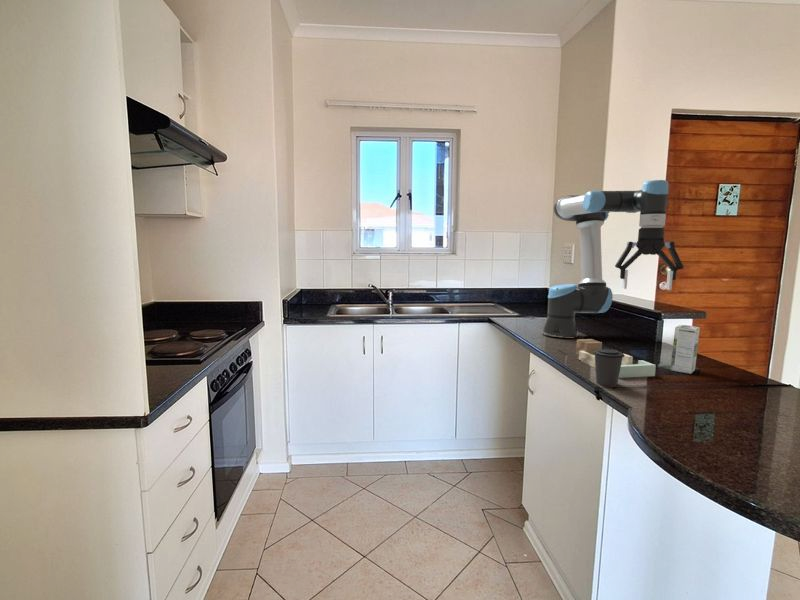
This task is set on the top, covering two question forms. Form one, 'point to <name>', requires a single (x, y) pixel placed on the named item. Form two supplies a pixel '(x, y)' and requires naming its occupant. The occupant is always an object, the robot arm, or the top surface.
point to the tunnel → (590, 359)
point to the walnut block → (588, 345)
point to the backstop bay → (637, 370)
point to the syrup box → (685, 348)
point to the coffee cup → (607, 366)
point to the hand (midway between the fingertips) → (646, 289)
